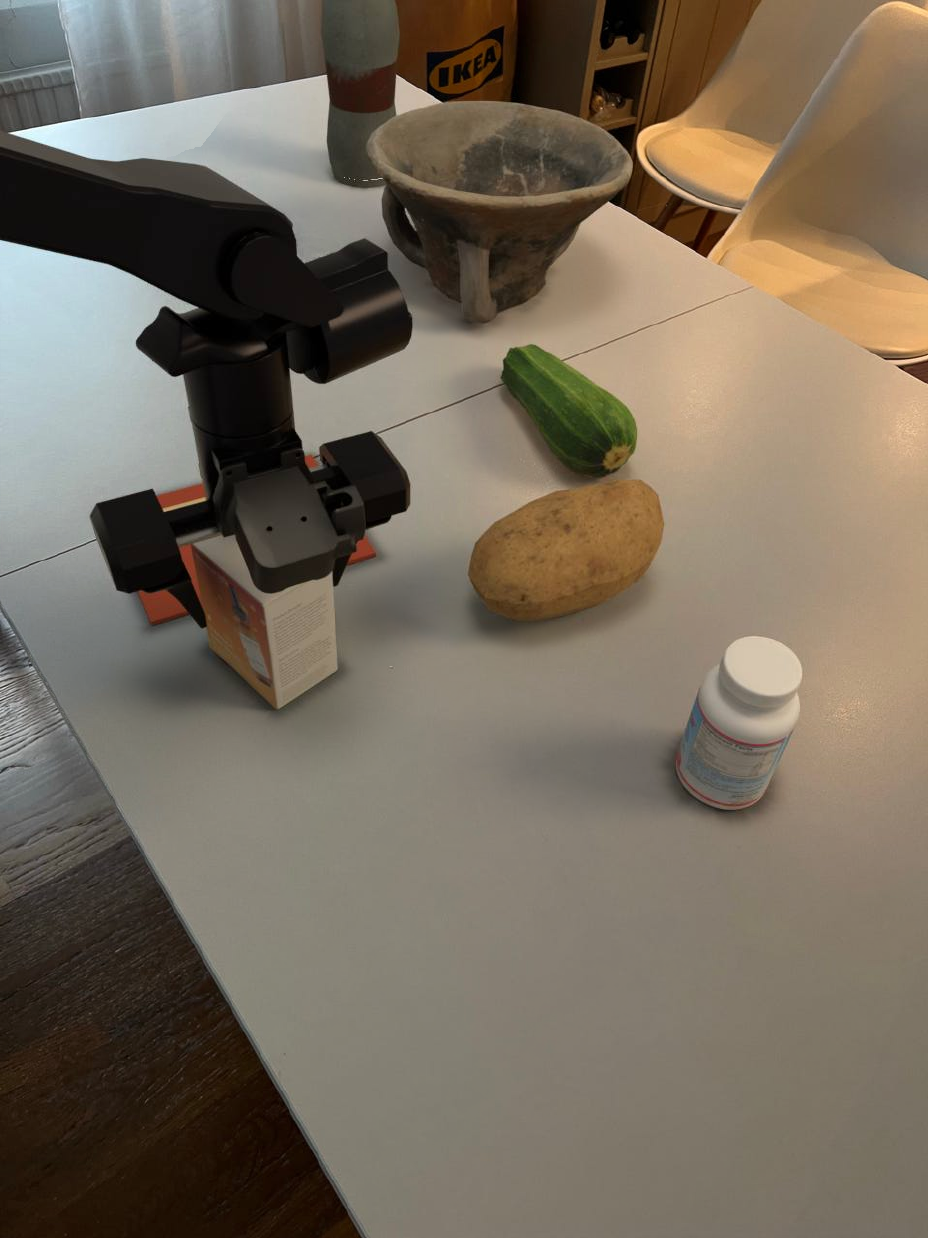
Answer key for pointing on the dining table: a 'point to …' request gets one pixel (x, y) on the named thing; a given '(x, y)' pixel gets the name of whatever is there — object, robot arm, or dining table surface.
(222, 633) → the small box
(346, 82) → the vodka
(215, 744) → the dining table surface
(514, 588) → the potato
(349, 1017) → the dining table surface
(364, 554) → the tea towel
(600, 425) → the vegetable
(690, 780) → the pill bottle
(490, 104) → the bowl
